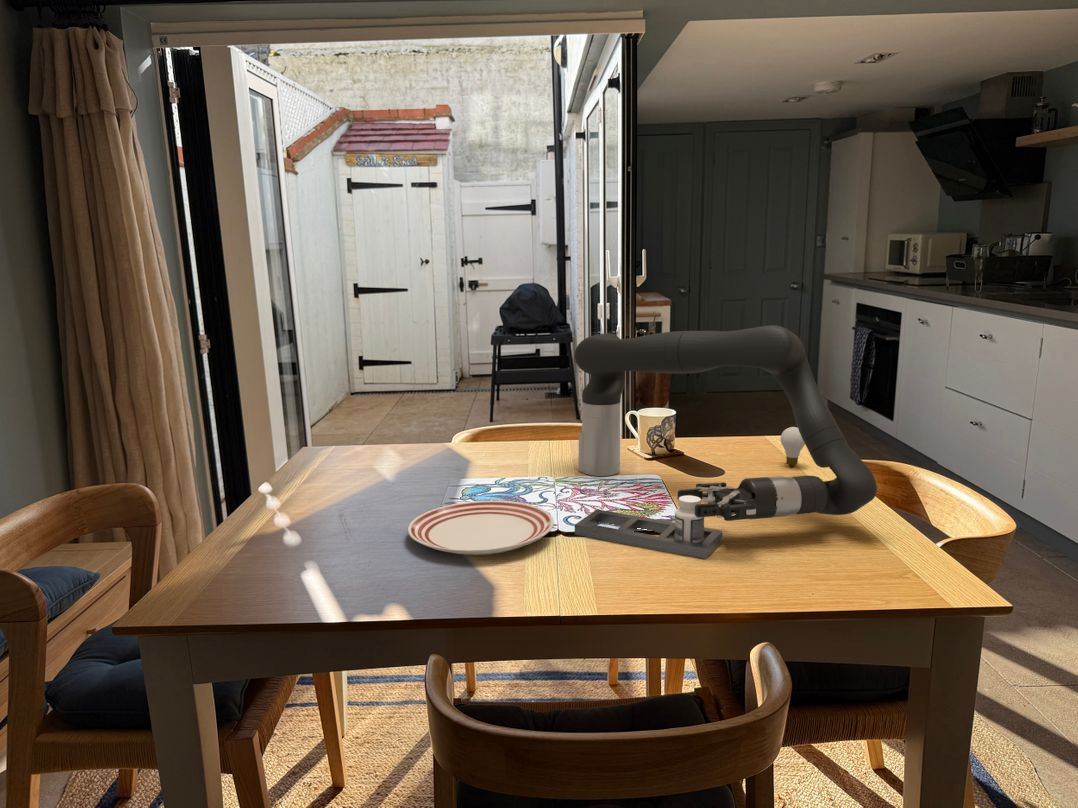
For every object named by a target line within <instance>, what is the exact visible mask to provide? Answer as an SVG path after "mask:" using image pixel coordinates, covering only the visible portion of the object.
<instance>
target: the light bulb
mask: <svg viewBox="0 0 1078 808" xmlns="http://www.w3.org/2000/svg"><path fill="white" fill-rule="evenodd" d="M780 442H781V446H782V447H783V449H784V451H785V456H786V457H785V460H786V465H788V467H790V468H794V467H796V466H797V465H798V461H799V456H800V453H801V450H802V449H803V448H804V447H805V446H806V445H805V443H804V441H803V439H802V437H801V434H800V432H799V429H798V427H796V426H790V427H788V428H786V429H784V430H783V431H782V432H781V435H780Z"/></svg>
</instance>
